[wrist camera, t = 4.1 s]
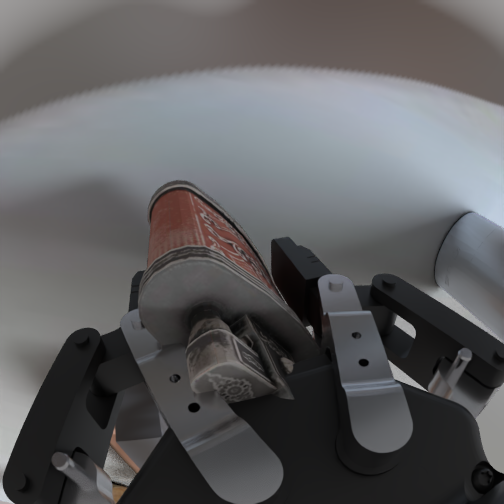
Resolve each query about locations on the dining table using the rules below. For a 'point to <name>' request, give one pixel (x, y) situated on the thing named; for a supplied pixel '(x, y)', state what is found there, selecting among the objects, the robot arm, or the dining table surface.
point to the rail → (137, 427)
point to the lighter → (217, 299)
